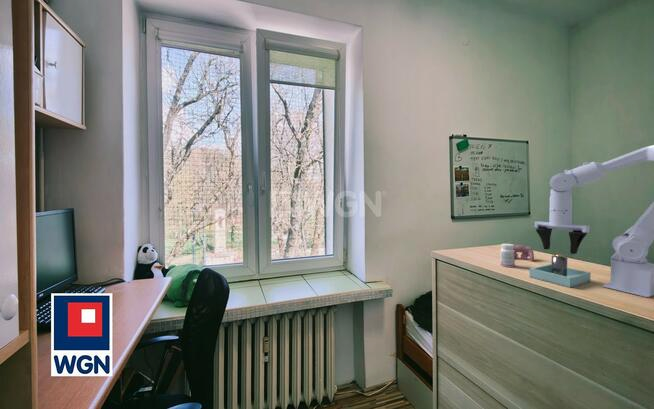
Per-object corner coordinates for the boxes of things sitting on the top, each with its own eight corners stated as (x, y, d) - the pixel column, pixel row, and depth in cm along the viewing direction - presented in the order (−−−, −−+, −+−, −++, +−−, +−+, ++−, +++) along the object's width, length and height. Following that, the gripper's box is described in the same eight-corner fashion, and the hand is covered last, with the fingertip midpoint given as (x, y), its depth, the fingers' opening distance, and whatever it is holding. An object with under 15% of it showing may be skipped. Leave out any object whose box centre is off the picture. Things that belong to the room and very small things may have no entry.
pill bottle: (516, 267, 107) (517, 245, 106) (503, 267, 108) (503, 245, 107) (511, 264, 112) (511, 243, 111) (498, 263, 113) (498, 243, 112)
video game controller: (533, 263, 117) (532, 247, 119) (534, 261, 113) (534, 244, 115) (505, 261, 122) (505, 245, 124) (505, 258, 118) (505, 242, 121)
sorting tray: (590, 281, 90) (590, 272, 90) (569, 287, 85) (570, 278, 85) (549, 272, 100) (549, 263, 100) (529, 277, 96) (529, 268, 96)
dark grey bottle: (569, 278, 92) (570, 255, 91) (562, 280, 90) (563, 257, 90) (555, 274, 95) (556, 253, 95) (548, 276, 94) (549, 254, 93)
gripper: (595, 211, 87) (594, 254, 88) (543, 208, 100) (542, 245, 101) (582, 212, 84) (581, 257, 85) (531, 209, 97) (530, 248, 98)
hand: (559, 251), depth 93 cm, fingers open, 7 cm apart
